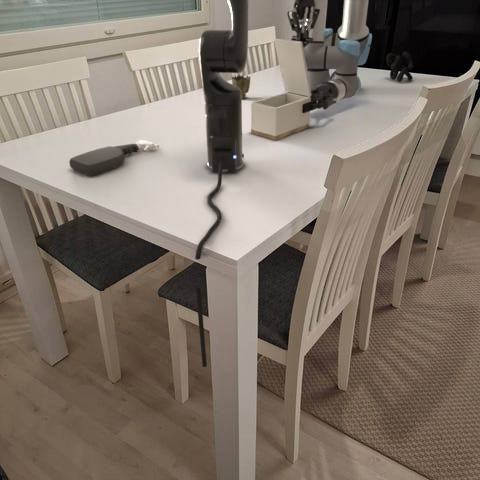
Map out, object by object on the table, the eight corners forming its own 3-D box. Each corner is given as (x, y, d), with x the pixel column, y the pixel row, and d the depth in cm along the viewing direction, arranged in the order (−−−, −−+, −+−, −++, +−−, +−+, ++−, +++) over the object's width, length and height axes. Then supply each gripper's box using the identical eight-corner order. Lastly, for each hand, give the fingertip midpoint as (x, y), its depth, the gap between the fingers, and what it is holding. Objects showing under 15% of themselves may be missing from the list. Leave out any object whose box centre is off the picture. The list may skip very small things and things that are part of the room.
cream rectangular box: (275, 140, 136) (276, 108, 131) (251, 133, 142) (250, 102, 137) (308, 127, 146) (310, 97, 141) (284, 121, 152) (285, 92, 147)
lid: (300, 43, 128) (316, 29, 131) (273, 39, 134) (289, 27, 137) (310, 96, 141) (324, 83, 144) (285, 91, 147) (299, 79, 150)
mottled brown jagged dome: (228, 98, 178) (228, 78, 173) (237, 94, 183) (237, 74, 179) (245, 101, 175) (245, 79, 170) (253, 96, 180) (253, 75, 176)
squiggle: (400, 92, 202) (376, 71, 205) (417, 76, 202) (392, 56, 205) (405, 81, 191) (380, 59, 194) (423, 64, 191) (397, 42, 194)
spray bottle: (67, 168, 120) (139, 144, 136) (91, 178, 114) (163, 151, 130) (65, 157, 118) (137, 134, 134) (89, 167, 112) (162, 142, 128)
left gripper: (309, -21, 134) (305, 41, 143) (280, -20, 126) (278, 47, 135) (330, -21, 130) (325, 44, 139) (301, -19, 121) (297, 49, 130)
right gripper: (356, 109, 152) (318, 124, 138) (303, 97, 165) (263, 110, 152) (359, 86, 148) (319, 99, 134) (304, 76, 161) (263, 88, 148)
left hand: (302, 45), depth 137 cm, fingers closed on lid
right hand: (289, 105), depth 143 cm, fingers closed on cream rectangular box, 10 cm apart
